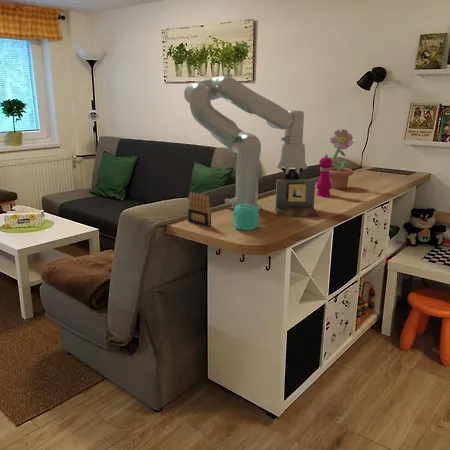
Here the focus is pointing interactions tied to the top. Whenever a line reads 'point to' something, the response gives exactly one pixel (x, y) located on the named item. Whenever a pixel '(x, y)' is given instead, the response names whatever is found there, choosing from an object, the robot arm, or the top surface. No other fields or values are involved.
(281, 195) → the grey rectangular panel
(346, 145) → the decorative flower
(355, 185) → the top surface
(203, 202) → the ammunition clip
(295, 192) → the shaft
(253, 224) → the decorative dice
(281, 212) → the base board
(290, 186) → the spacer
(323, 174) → the pepper mill
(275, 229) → the top surface
